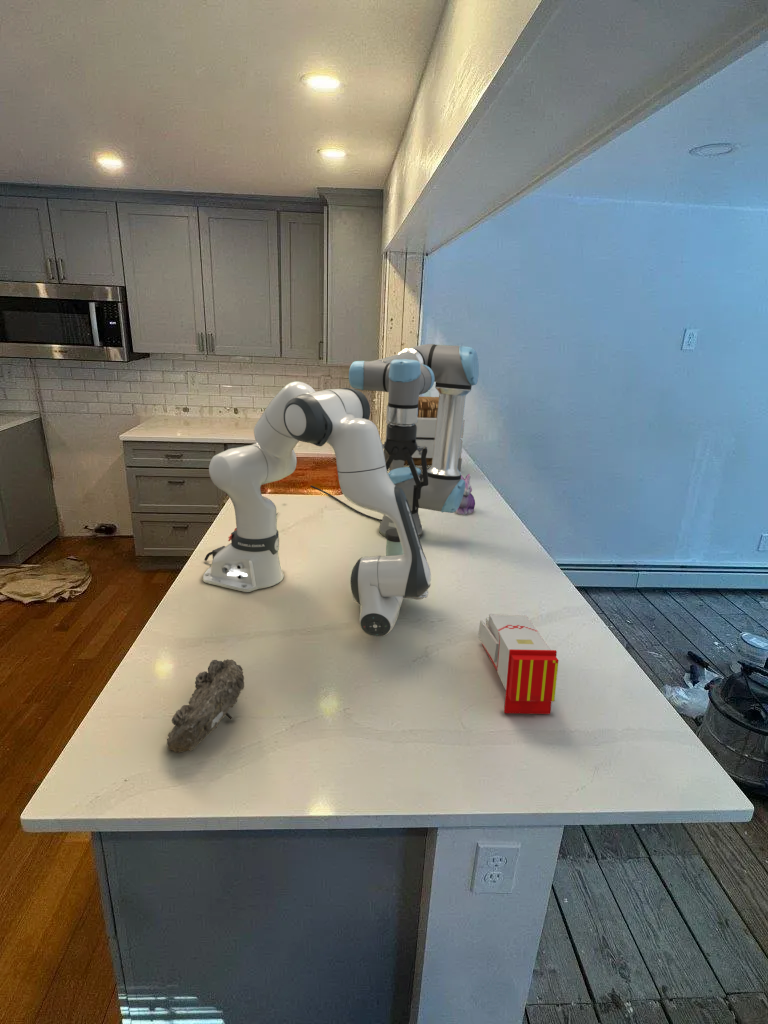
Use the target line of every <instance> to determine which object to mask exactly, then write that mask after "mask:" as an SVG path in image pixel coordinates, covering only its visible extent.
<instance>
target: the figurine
mask: <svg viewBox="0 0 768 1024" xmlns="http://www.w3.org/2000/svg"><path fill="white" fill-rule="evenodd" d="M461 479H463V480H464V481H465V490H464V494H463V498H462V501H461V503H460V506H459V508H458V509H457V510H456V511H455V513H456V514H458V515H470V514H472V513H474V511H475V507H476V500H475V497H474V495H473V494H472V492H473V488H472V485H471V483H470V481H471V474H470V473H468V474H467V475H466V476H465V478H464V476H463V475H462V474H461Z"/></svg>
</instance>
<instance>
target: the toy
mask: <svg viewBox="0 0 768 1024" xmlns="http://www.w3.org/2000/svg"><path fill="white" fill-rule="evenodd" d="M477 635H478V637H477V638H478V639H479V641H480V643H481V645H482V647H483V649H484V651H485V652H486V654H487V655H488V658H489V659H490V661H491V663H492V665H493V667H494V669H495V671H496V672H497V675H498V677H499V679H500V682H501V684H502V685H503V688H504V690H505V699H504V709H503V712H504V714H522V715H523V714H528V715H535V714H536V715H540V714H541V715H551V710H552V702H555V700H556V699H555V698H556V688H557V679H558V672H559V671H558V669H559V661H560V660H559V659H558V658H557V649H551V648H550V646H549V645H548V643H547V642H546V640H545V639H544V638H543V636H542V635H541V634H540V632H539V630H538V629H536V626H535V624H533V622H532V619H530V618H529V617H528V615H527V614H501V613H500V614H495V613H493V614H492V613H489V614H488V616H486V617H485V622H484V620H483V619H480V620H479V628H478V634H477Z"/></svg>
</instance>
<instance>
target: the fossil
mask: <svg viewBox="0 0 768 1024" xmlns="http://www.w3.org/2000/svg"><path fill="white" fill-rule="evenodd" d="M243 670H244V669H243V667H242V665H240V664H237V662H236V661H235V660H234V659H232V658H231V659H227V658H226V659H224V660H223V661H222V660H217V659H212V660H211V661H210V663H209V665H208V666H207V671H201V672H199V673H198V674H197V675H196V676H195V680H194V684H195V685H194V687H195V689H194V690H193V693H192V694H191V697H190V698H189V700H188V704H184V705H182V706H181V707H180V709H177V710H176V711H175V713H174V715H173V716H172V718H171V723H172V724H173V727H172V730H171V731H170V732H168V734H167V738H166V741H167V742H166V745H167V749H168V750H169V751H173V752H174V753H176V754H178V753H182V752H188V751H189V752H192V751H193V750H195V748H196V747H197V746H199V744H200V743H201V742H203V741H204V740H205V739H206V738H207V737H208V736H209V735H210V734H211V733H212V732H214V730H215V729H217V727H218V726H219V724H220V722H221V721H222V720H223V719H224V718H225V716H226V717H227V719H229V720H233V717H232V715H230V714H229V710H230V709H231V708H234V706H235V704H236V703H237V702H238V699H239V697H240V695H241V693H242V691H243V690H245V689H244V688H245V675H244V671H243Z"/></svg>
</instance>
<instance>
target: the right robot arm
mask: <svg viewBox="0 0 768 1024" xmlns="http://www.w3.org/2000/svg"><path fill="white" fill-rule="evenodd" d="M479 368H480V367H479V357H478V353H477V351H476V349H475V348H474V347H471V346H464V345H451V344H450V345H449V344H436V343H435V344H434V343H427V344H419V345H415V346H412V347H406V348H403V349H402V350H400V351H399V352H398V353H397V354H394V355H390V356H388V357H383V358H380V359H375V360H371V361H370V360H369V361H367V360H355V361H353V362H352V363H351V365H350V366H349V370H348V383H349V386H350V387H351V389H356V390H359V391H373V392H381V393H382V392H383V393H384V392H385V393H388V394H387V395H388V397H387V398H388V399H387V405H388V413H387V421H388V422H389V423H388V425H387V424H386V426H387V437H386V436H385V438H386V441H384V442H385V444H384V443H382V446H383V450H384V448H385V450H386V451H387V453H388V454H389V457H388V459H387V461H386V469H387V473H388V475H389V477H390V479H391V481H392V482H393V483H394V485H395V486H398V487H400V488H401V489H402V490H403V492H404V494H405V496H406V498H407V501H408V504H409V507H410V510H411V513H412V516H413V519H414V523H415V526H416V529H417V533H418V536H419V538H420V537H421V536H422V535H423V525H422V524H421V518H420V515H419V509H424V510H429V511H435V512H441V513H449V514H453V513H456V510H457V509H458V508H459V506H460V503H461V501H462V498H463V494H464V490H465V481H464V480H463V479H461V475H462V473H460V471H459V470H458V468H457V466H458V458H459V449H460V441H461V440H462V438H461V432H462V423H463V419H464V414H465V406H466V397H467V395H468V394H469V393H471V392H472V387H473V386H476V385H477V384H478V379H479V375H480V374H479V372H480V369H479ZM434 385H435V387H434ZM433 387H434V388H435V389H436V391H437V392H438V397H439V401H438V411H437V420H436V430H435V439H434V449H433V459H432V465H430V466H429V468H428V466H427V463H426V455H427V447H426V446H424V447H421V446H418V445H417V443H416V433H417V426H416V425H415V424H416V423H417V417H418V400H419V397H420V396H422V395H424V394H426V393H428V391H430V390H431V389H432V388H433ZM416 450H417V451H418V452H419V455H421V463H422V466H421V468H419V467H417V466H415V464H414V462H413V459H412V455H413V454H414V453H415V451H416ZM393 459H394V460H402V461H406V460H407V463H408V465H409V466H404V467H402V468H397V469H393V470H391V471H390V465H391V463H392V461H393ZM388 471H389V472H388ZM310 488H312V489H313V490H317V491H319V492H322V493H323V494H325V495H328V496H329V497H331V498H333V499H334V500H335V501H337V502H338V503H340V504H342V505H343V506H345V507H346V508H348V509H350V510H352V511H354V512H355V513H357V514H359V515H362V516H364V517H366V518H369V519H371V520H374V521H378V522H379V526H378V533H379V534H380V535H381V536H382V537H385V533H386V530H388V529H393V528H396V526H395V524H394V522H393V521H392V520H391V519H390V518H389V517H387V516H385V515H383V514H382V519H381V518H377V517H374V516H371V515H368V514H366V513H364V512H362V511H360V510H357V509H356V508H354V507H352V506H350V505H348V504H347V503H345V502H343V501H342V500H340V499H338V498H337V497H335V496H334V495H332V494H331V493H329V492H327V491H325V490H323V489H321V488H318V487H317V486H314V485H310Z"/></svg>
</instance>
